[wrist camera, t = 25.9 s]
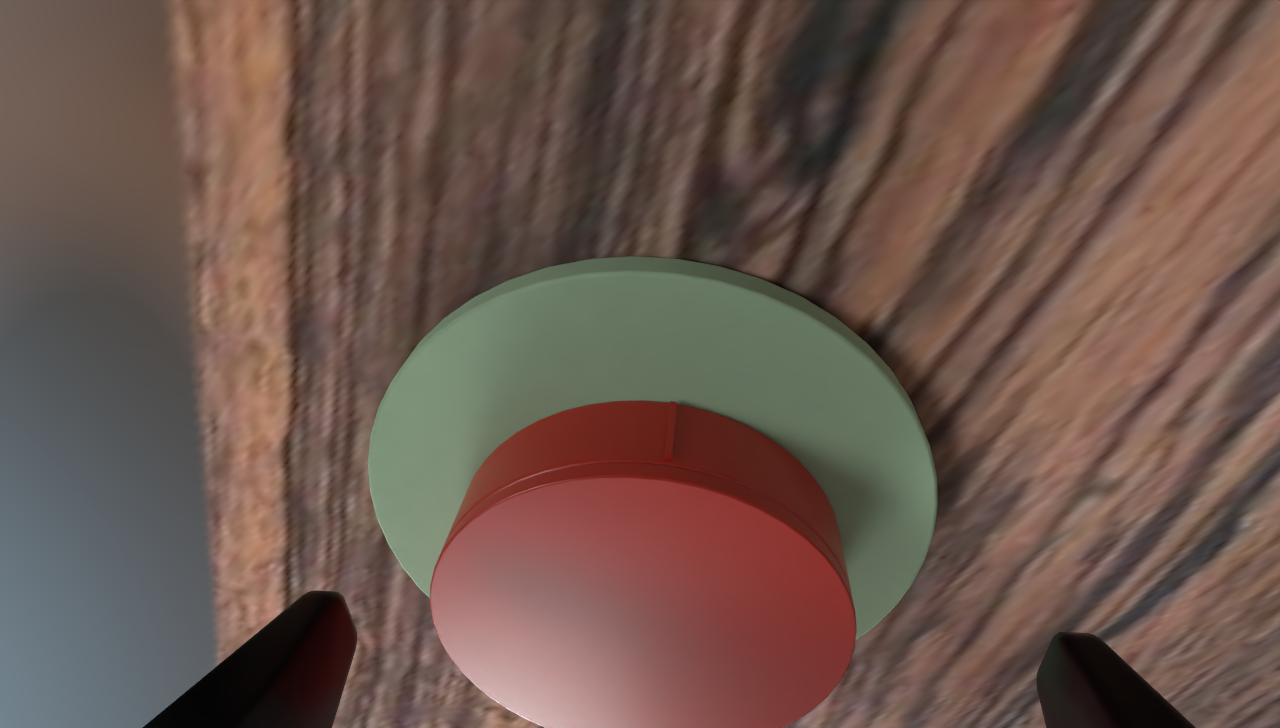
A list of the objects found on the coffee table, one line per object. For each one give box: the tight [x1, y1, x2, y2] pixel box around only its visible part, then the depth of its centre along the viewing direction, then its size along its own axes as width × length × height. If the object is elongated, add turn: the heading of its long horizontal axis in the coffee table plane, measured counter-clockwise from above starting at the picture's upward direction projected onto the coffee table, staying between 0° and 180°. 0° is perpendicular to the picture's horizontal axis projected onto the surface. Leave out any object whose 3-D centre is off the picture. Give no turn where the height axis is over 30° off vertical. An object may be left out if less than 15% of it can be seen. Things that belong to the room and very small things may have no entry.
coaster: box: [368, 256, 938, 640], centre depth 13 cm, size 10×10×1 cm
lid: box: [430, 401, 857, 728], centre depth 12 cm, size 7×7×2 cm
